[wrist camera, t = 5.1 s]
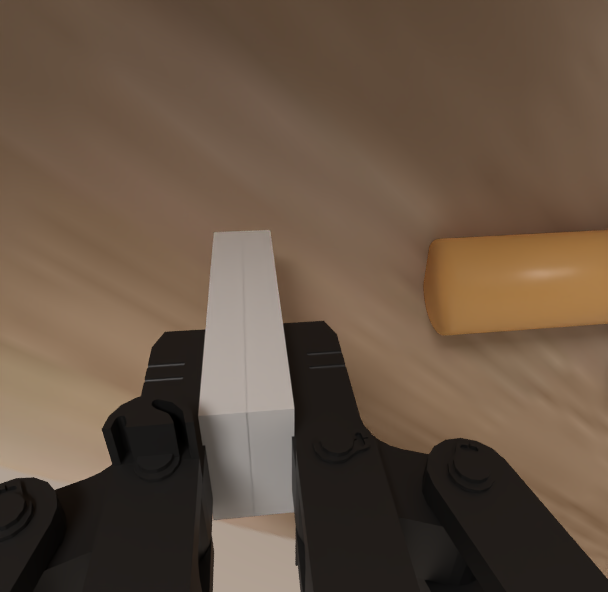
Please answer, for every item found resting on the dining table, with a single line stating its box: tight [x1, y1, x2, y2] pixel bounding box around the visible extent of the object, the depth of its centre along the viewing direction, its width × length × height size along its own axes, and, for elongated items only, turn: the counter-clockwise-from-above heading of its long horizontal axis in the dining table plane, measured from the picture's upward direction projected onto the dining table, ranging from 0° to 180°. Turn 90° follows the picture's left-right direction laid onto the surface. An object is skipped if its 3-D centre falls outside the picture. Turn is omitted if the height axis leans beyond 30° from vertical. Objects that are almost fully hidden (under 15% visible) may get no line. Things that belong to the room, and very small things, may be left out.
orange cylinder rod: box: [423, 230, 608, 336], centre depth 16 cm, size 10×3×3 cm
